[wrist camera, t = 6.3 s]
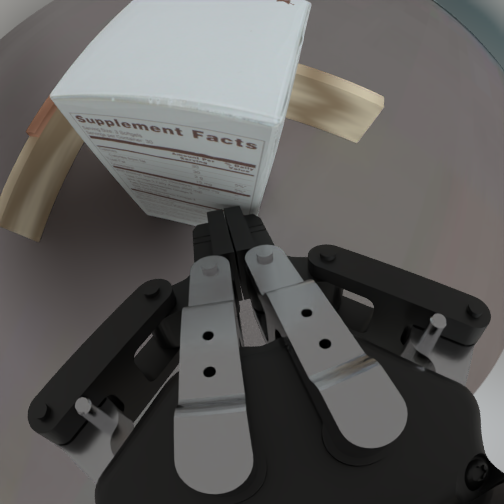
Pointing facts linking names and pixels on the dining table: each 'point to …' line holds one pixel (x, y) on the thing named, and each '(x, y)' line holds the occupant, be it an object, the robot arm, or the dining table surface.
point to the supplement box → (188, 100)
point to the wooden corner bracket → (69, 142)
